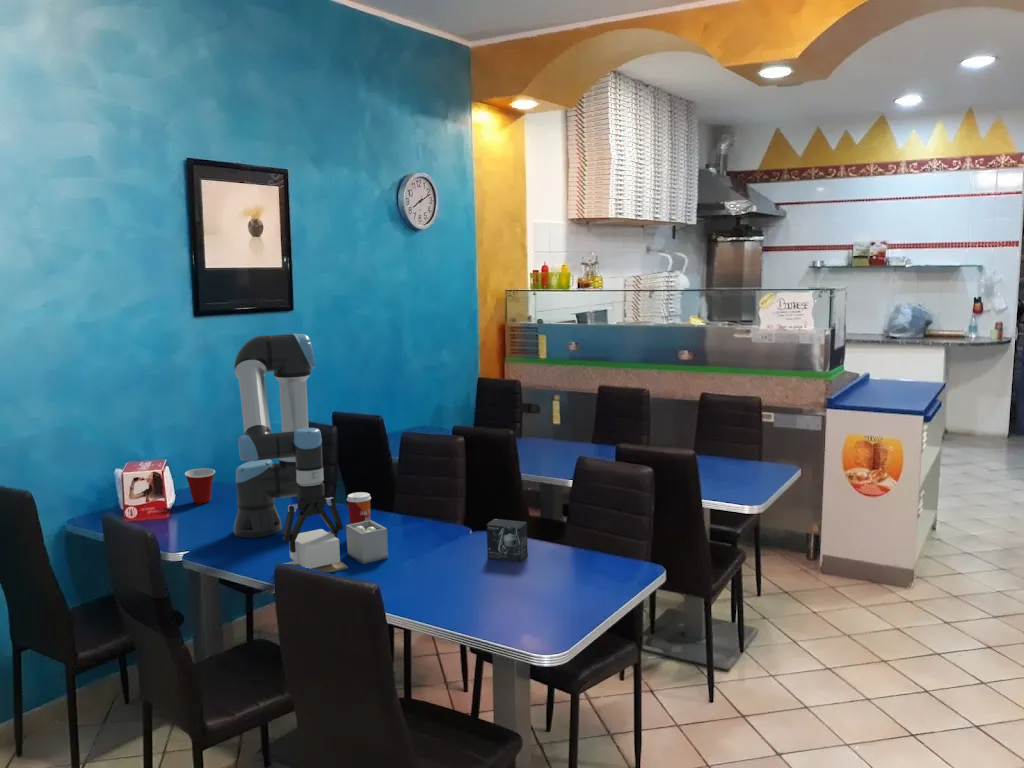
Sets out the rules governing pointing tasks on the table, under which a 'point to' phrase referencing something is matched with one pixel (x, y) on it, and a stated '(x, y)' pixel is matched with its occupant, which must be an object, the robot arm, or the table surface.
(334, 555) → the lid
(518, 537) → the box
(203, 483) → the plastic cup
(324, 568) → the trivet
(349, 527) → the dough box
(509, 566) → the table surface
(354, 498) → the paper cup
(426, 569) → the table surface
